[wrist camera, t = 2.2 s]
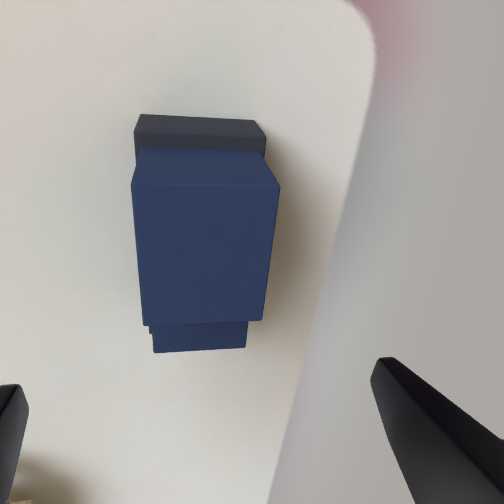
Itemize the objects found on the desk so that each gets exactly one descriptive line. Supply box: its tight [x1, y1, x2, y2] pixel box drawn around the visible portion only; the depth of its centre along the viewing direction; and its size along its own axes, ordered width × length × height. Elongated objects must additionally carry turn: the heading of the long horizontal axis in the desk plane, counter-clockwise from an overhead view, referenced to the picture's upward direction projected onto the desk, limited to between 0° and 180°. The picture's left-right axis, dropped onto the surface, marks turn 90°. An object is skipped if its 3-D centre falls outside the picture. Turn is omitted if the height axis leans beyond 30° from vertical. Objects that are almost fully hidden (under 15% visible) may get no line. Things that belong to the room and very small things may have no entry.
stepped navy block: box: [131, 114, 280, 353], centre depth 14 cm, size 9×4×6 cm, turn 175°
